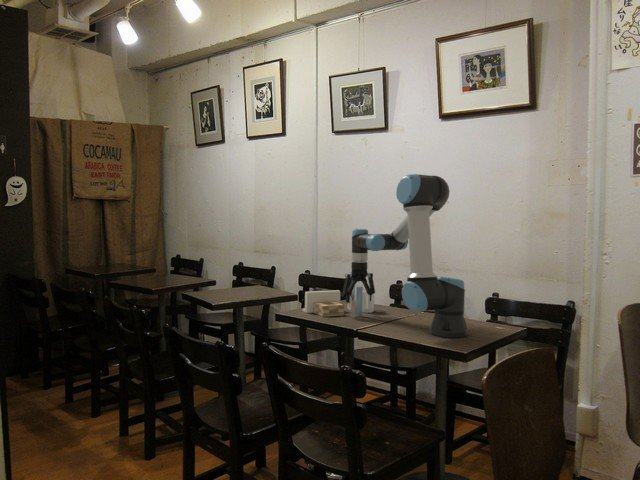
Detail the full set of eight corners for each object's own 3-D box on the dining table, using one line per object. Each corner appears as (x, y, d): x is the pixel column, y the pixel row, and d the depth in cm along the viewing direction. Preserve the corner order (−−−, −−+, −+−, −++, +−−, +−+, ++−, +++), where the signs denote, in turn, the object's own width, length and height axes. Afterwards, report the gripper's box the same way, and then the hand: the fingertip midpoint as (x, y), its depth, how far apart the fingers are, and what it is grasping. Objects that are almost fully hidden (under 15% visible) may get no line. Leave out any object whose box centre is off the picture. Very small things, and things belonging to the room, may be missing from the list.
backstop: (339, 310, 265) (340, 290, 264) (306, 312, 258) (307, 292, 257) (335, 309, 270) (335, 289, 269) (302, 311, 262) (303, 291, 262)
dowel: (363, 316, 251) (363, 287, 250) (356, 317, 249) (357, 287, 248) (359, 315, 254) (360, 286, 253) (353, 315, 252) (354, 286, 252)
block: (343, 315, 253) (343, 304, 253) (322, 316, 249) (323, 306, 249) (333, 311, 263) (334, 301, 263) (313, 312, 259) (313, 302, 259)
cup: (353, 311, 264) (354, 291, 263) (366, 308, 273) (367, 288, 273) (367, 313, 259) (368, 293, 258) (380, 310, 268) (381, 290, 268)
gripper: (375, 260, 258) (374, 306, 259) (335, 261, 249) (334, 308, 250) (383, 261, 251) (382, 308, 252) (342, 262, 242) (341, 311, 243)
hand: (358, 308), depth 251 cm, fingers open, 9 cm apart
